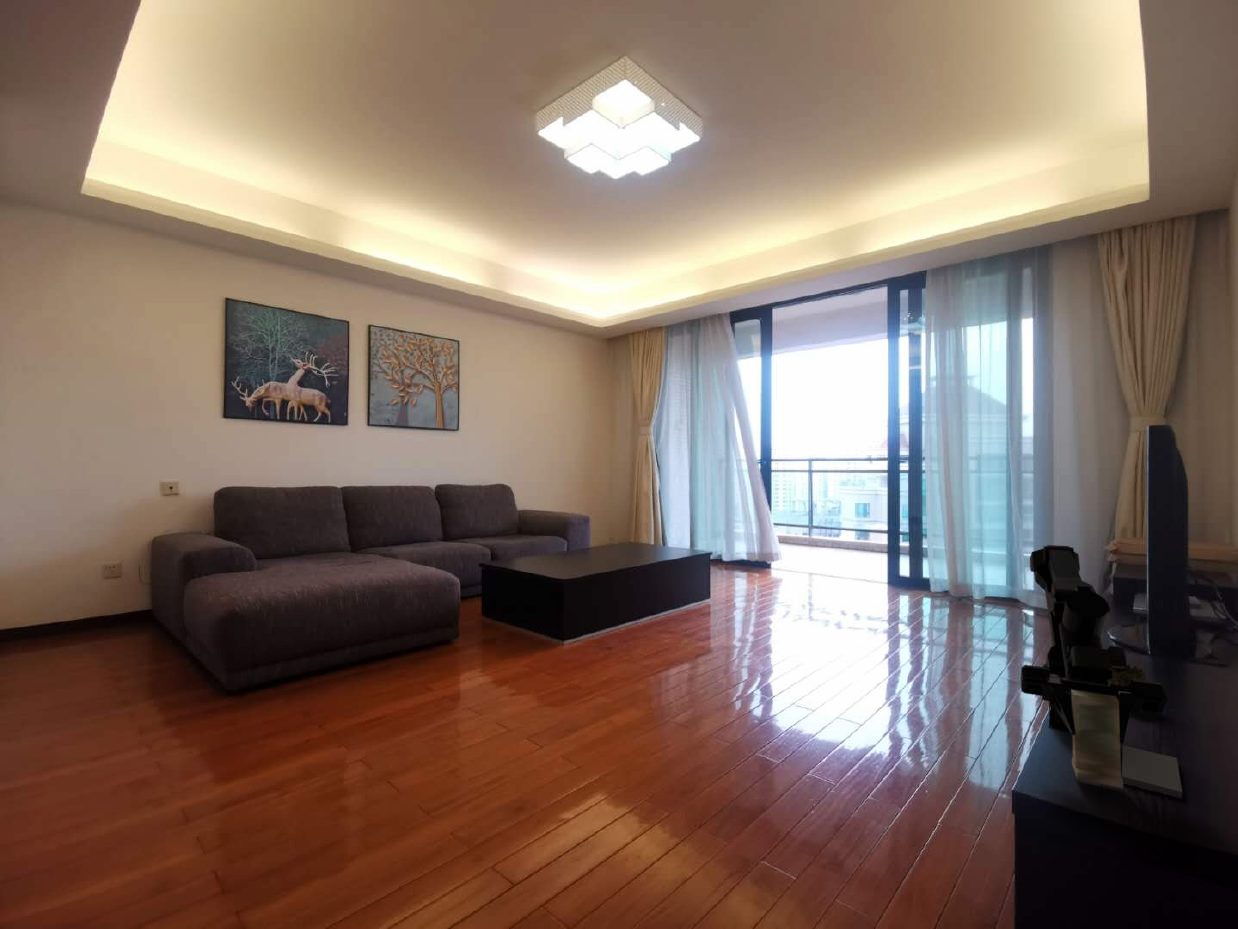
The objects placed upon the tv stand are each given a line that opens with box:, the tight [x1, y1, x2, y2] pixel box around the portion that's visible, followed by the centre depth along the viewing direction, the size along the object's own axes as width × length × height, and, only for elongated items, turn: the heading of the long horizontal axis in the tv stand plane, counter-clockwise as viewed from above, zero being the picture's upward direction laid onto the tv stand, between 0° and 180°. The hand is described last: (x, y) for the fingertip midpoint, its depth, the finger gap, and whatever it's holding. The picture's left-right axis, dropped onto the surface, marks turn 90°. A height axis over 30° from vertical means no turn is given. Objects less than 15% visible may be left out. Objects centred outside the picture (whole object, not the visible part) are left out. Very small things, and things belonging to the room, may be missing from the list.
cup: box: [1109, 663, 1147, 687], centre depth 124 cm, size 8×7×8 cm
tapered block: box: [1071, 690, 1124, 789], centre depth 92 cm, size 6×5×13 cm
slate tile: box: [1121, 745, 1183, 796], centre depth 95 cm, size 7×14×1 cm, turn 138°
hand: (1097, 738), depth 90 cm, fingers closed on tapered block, 6 cm apart
